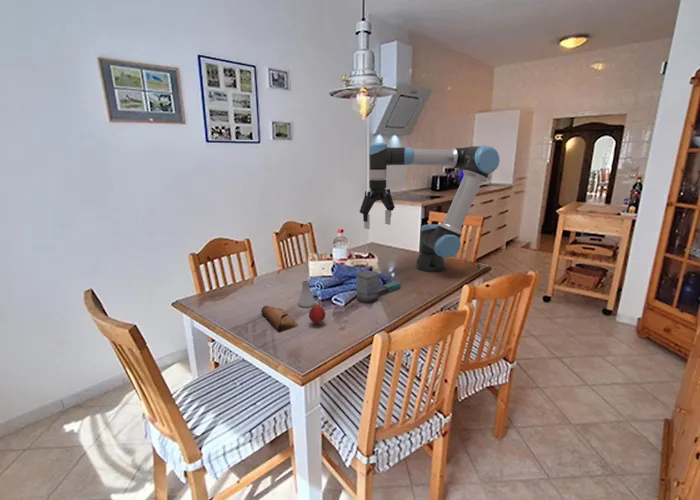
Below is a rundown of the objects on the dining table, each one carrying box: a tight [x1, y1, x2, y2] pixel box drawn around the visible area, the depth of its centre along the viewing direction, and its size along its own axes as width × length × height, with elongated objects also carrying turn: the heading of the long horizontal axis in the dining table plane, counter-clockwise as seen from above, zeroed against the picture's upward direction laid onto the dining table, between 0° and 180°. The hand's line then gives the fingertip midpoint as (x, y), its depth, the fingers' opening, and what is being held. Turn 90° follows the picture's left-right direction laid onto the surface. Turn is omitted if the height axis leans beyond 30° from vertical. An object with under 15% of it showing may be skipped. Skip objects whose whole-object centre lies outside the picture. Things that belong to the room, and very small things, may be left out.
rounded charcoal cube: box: [355, 270, 380, 296], centre depth 150 cm, size 7×7×8 cm
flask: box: [297, 279, 317, 308], centre depth 146 cm, size 7×7×10 cm
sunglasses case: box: [260, 305, 299, 333], centre depth 133 cm, size 18×7×7 cm
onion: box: [308, 303, 326, 325], centre depth 129 cm, size 6×6×8 cm
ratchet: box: [356, 280, 401, 304], centre depth 155 cm, size 24×9×7 cm, turn 131°
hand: (377, 226), depth 164 cm, fingers open, 13 cm apart
